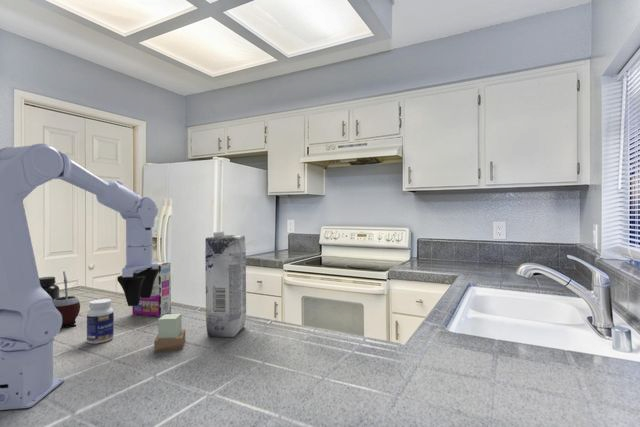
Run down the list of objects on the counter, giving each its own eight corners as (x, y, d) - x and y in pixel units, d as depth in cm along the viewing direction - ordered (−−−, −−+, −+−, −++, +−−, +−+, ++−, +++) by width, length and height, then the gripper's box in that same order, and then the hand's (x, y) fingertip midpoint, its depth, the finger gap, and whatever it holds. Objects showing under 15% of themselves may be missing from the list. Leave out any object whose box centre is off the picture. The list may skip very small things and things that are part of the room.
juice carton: (248, 325, 96) (248, 230, 96) (236, 339, 86) (235, 232, 86) (218, 325, 97) (217, 230, 97) (202, 338, 87) (201, 232, 87)
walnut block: (182, 350, 80) (182, 337, 80) (154, 353, 78) (154, 340, 78) (185, 341, 86) (185, 329, 86) (159, 344, 84) (159, 331, 84)
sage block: (176, 337, 80) (175, 318, 80) (158, 338, 80) (158, 319, 80) (181, 331, 84) (181, 313, 84) (164, 332, 84) (164, 314, 84)
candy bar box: (171, 313, 110) (171, 262, 110) (160, 317, 105) (159, 264, 105) (143, 310, 113) (143, 261, 113) (131, 314, 108) (131, 263, 108)
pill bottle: (100, 345, 83) (100, 304, 83) (81, 343, 84) (80, 303, 84) (119, 336, 89) (118, 298, 89) (100, 335, 90) (100, 297, 90)
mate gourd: (65, 330, 94) (64, 276, 94) (40, 329, 95) (40, 275, 95) (87, 322, 101) (87, 271, 101) (64, 321, 102) (64, 271, 102)
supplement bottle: (36, 314, 110) (36, 277, 110) (62, 311, 113) (62, 275, 113) (28, 320, 104) (28, 280, 104) (56, 317, 106) (56, 278, 107)
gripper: (145, 248, 77) (145, 308, 77) (166, 243, 91) (166, 294, 91) (112, 249, 76) (112, 310, 76) (138, 243, 90) (138, 295, 90)
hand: (139, 301), depth 84 cm, fingers open, 7 cm apart
